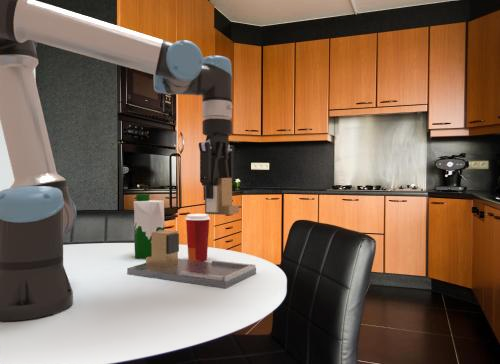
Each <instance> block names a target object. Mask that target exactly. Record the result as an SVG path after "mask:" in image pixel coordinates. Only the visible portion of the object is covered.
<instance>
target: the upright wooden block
mask: <svg viewBox="0 0 500 364" xmlns="http://www.w3.org/2000/svg"><path fill="white" fill-rule="evenodd" d="M214 186H217V212H206V186H203V185H202V188H203V201H204V214H208V215H219V216H220V215H222V216H223V215H224V216H225V215H226V216H227V215H228V216H230V215H236V214H240V205H239V204H238V205H237V204H233V184H232V178H219V177H216V180H215V185H214Z"/></svg>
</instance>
